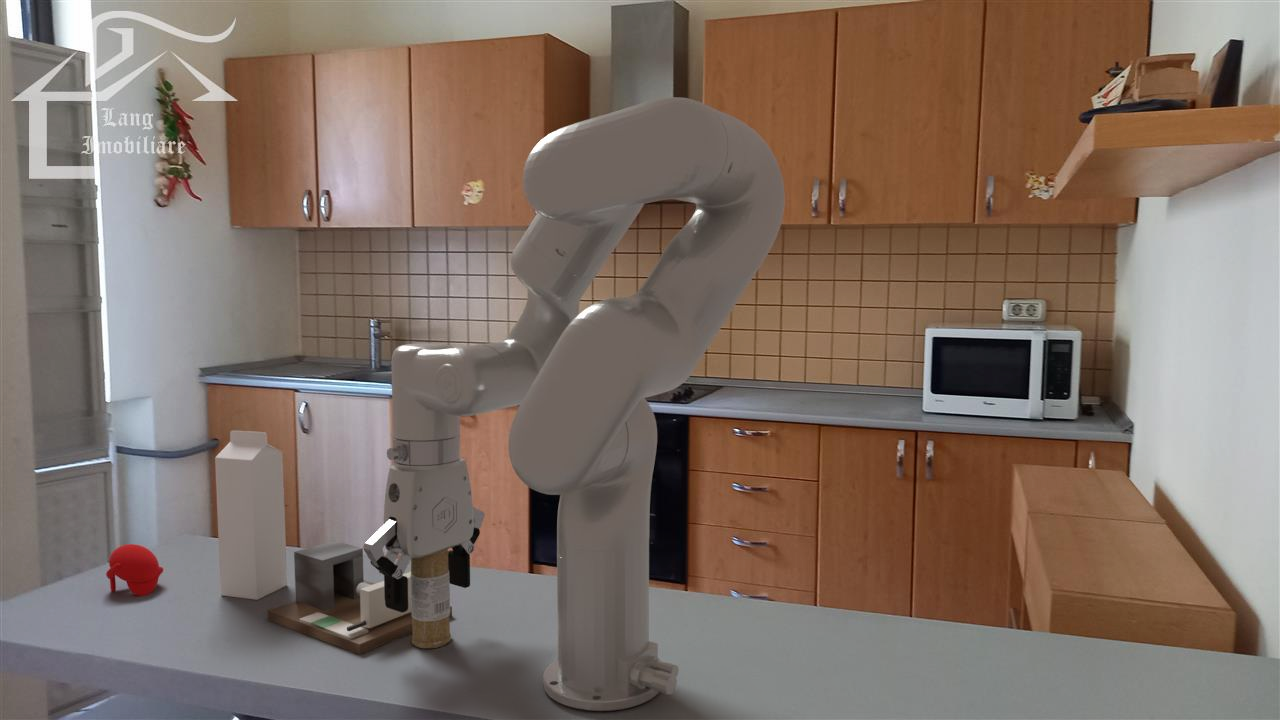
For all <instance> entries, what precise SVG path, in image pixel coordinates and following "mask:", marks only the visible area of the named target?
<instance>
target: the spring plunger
mask: <svg viewBox="0 0 1280 720" xmlns="http://www.w3.org/2000/svg"><path fill="white" fill-rule="evenodd" d="M403 576H405V577H407V578H408V610H407V611H405V612H403V613H402V612H399V611H396V610H393V609H390V608H387V607H386V605H385V594H384V580H382V581H379V582H377V583H375V584H373V585H370V584H367V583H363V582H362V583H360V584H359V585H358V586H357V588H356V593H357V594H358V595H360V610H361V622H359V623H357V624H354V625H351V626H349V627H347V631H351V630H354V629H357V628H359V627H362V626H364V627H367V628H372V627H374V626H377V625H379V624H382V623H384V622H387V621H390V620H392V619H395V618H397V617H400V616H402V615H405V614H407V613H410V612H411V571H408V572H406V573H405V572H404V574H403Z"/></svg>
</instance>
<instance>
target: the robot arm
mask: <svg viewBox="0 0 1280 720" xmlns="http://www.w3.org/2000/svg"><path fill="white" fill-rule="evenodd" d="M784 184H785V183H784V179H783V175H782V171H781V169H780V165H779V163H778V160H777V158H776V156H775V154H774V153H773V151H772V149H771V148H770V146H769V144H767V142H766V141H765V139H764V138H763V137H762V136H761V135H760V134H759V133H758V132H757V131H756V130H755V129H754V128H752V127H751V126H749V124H747V123H746V122H744V121H742V120H740V119H739V118H736V117H735V116H733V115H731V114H728V113H726V112H723V111H720V110H718V109H716V108H714V107H712V106H710V105H708V104H705V103H702V102H701V101H698V100H695V99H691V98H689V97H688V98H687V97H674V96H673V97H672V96H670V97H662V98H657V99H653V100H649V101H646V102H642V103H638V104H635V105H632V106H629V107H625V108H622V109H620V110H616V111H615V110H614V111H612V112H609V113H605V114H602V115H598V116H595V117H592V118H588V119H585V120H581V121H578V122H575V123H573V124H572V123H571V124H569V125H567V126H563V127H560V128H558V129H556V130H554V131H552V132H551V133H550V132H549V133H548V134H547V135H546V136H545V137H543V138H542V139H540V141H539V142H538V143H536V145H535V146H534V147H533V148H532V150H531V151H530V153H529V155H528V156H527V158H526V161H525V164H524V167H523V172H522V187H523V192H524V195H525V197H526V201H527V203H528V204H529V205H530V207H531V208H532V209H533V210H534V211H535V212H537V213H536V215H535V217H534V218H533V219H532V221H531V223H530V224H529V226H528V228H527V229H526V231H525V232H524V234H523V235H522V237H521V239H520V240H519V241H518V243H517V244H516V247H514V249H513V251H512V252H511V256H510V268H511V270H512V272H513V274H514V276H515V277H516V278H517V279H518V281H519V282H520V283H521V284H522V285H523V286H524V287H525V288H526V289H527V300H526V303H525V306H524V308H523V310H522V313H521V314H520V316H519V318H518V320H517V321H516V322H515V324H514V326H513V327H512V329H511V330H510V331H509V333H508V335H507V336H506V337H505V339H504V340H503V341H502V342H501V341H500V342H499V341H498V342H490V343H480V344H474V345H465V346H458V347H454V346H452V345H449V344H446V343H437V342H436V343H434V342H429V343H426V342H425V343H422V342H421V343H407V344H402V345H399V346H397V347H396V348H395V349H394V351H393V353H392V355H391V403H392V406H391V409H392V411H391V412H392V416H391V417H392V447H391V448H388V449H387V451H386V457H387V459H388V460H389V461H392V465H390V466H389V470H388V474H387V480H386V487H385V493H384V495H385V496H384V506H383V525H382V526H381V527H379V529H377V531H376V532H374V533H373V534H372V536H371V537H369V538H368V540H367V541H366V542H364V543H363V547H362V548H363V552H365V554H366V556H367V557H368V559H369V560H370V564H371V565H372V567H374V568H375V569H376V570H377V571H378V573H379V574H380V575H383V581H384V594H385V605H386V607H387V608H390V609H393V610H396V611H399V612H402V613H403V612H405V611H407V610H408V578H407V577H405V576H403V574H405V572H406V569H407V568H408V565H409V564H410V563H411V558H420V557H424V556H427V555H431V554H434V553H437V552H440V551H443V550H446V549H448V569H449V581H450V585H454V586H458V587H460V588H463V589H467V588H469V587H470V586H471V556H470V555H471V554H473V553H474V551H475V545H474V544H475V543H476V541H477V540H478V538H479V536H480V533H481V530H480V529H481V528H482V525H483V522H484V519H485V517H486V515H485V512H484V511H482V510H480V509H479V508H476V507H474V505H473V494H472V485H471V479H470V474H469V469H468V465H467V463H466V459H465V458H462V457H461V435H460V434H461V417H470V416H471V417H472V416H476V415H481V414H486V413H490V412H493V411H496V410H502V409H507V408H508V409H509V408H512V407H516V406H519V407H518V409H517V410H516V413H515V415H514V418H513V419H512V422H511V425H510V429H509V434H508V445H507V446H508V455H509V460H510V463H511V466H512V468H513V471H514V472H515V474H516V476H517V477H518V478H519V480H521V482H522V483H523V484H524V485H526V486H527V487H529V488H530V489H531V490H534V491H535V492H537V493H541V494H545V495H550V496H553V495H554V496H557V495H558V496H559V502H558V507H557V508H558V509H557V516H556V517H557V520H556V521H557V522H556V569H557V570H556V573H557V574H556V575H557V576H556V583H557V584H556V585H557V586H556V587H557V588H556V589H557V590H556V592H557V593H556V594H557V602H556V603H557V607H556V608H557V609H556V610H557V658H556V659H555V660H553V661H551V662H550V664H549V665H547V666H546V667H545V670H544V671H543V674H542V675H543V676H542V682H543V683H542V685H543V686H542V687H543V689H544V691H545V693H546V695H548V697H550V698H551V699H553V700H554V701H556V702H557V703H559V704H560V705H561V704H562V705H563V706H566V707H569V708H574V709H578V710H584V711H591V712H592V711H595V712H610V711H618V710H625V709H629V708H633V707H637V706H639V705H642V704H645V703H647V702H648V701H650V700H652V699H653V698H654V697H656V696H657V695H658V694H659V693H662V694H665V695H669V696H670V695H672V694H673V693H674V691H675V690H676V688H677V677H678V675H679V666H678V665H677V664H675V663H674V664H673V663H670V662H666V661H661V660H660V658H659V656H658V654H659V652H658V651H659V649H658V647H659V644H658V643H657V642H653V641H650V514H651V513H650V509H651V508H650V507H651V505H650V504H651V491H652V481H653V473H654V467H655V461H656V455H657V448H658V447H657V445H658V427H657V420H656V415H655V414H654V411H653V408H652V407H651V405H650V403H649V402H648V401H647V399H645V398H649V397H653V396H657V395H661V394H664V393H667V392H671V391H673V390H675V389H677V388H678V387H680V386H681V385H682V384H684V383H685V382H686V381H688V379H689V378H690V377H691V375H692V374H693V372H694V371H695V369H696V367H697V366H698V364H699V363H700V361H701V359H702V358H703V356H704V355H705V353H706V351H707V350H708V349H709V347H710V345H711V344H712V342H713V341H714V339H715V337H716V336H717V335H718V333H719V331H720V330H721V329H722V327H723V325H724V324H725V322H726V321H727V319H728V318H729V316H730V315H731V313H732V311H733V310H734V308H735V306H736V304H737V303H738V301H739V299H740V298H741V296H743V293H744V291H745V290H746V288H747V287H748V285H749V284H750V282H751V281H752V279H753V278H754V276H755V275H756V274H757V272H758V271H759V269H760V267H761V266H762V264H764V263H763V262H765V260H766V258H767V256H768V255H769V252H770V251H771V249H772V247H773V246H774V243H775V241H776V239H777V237H778V235H779V231H780V229H781V225H782V222H783V217H784V212H785V201H786V194H785V193H786V192H785V185H784ZM664 200H677V201H681V202H682V201H683V202H688V203H692V204H695V211H694V213H693V215H692V217H691V218H690V219H689V220H688V222H687V223H686V224H685V225H684V226H683V227H682V228H681V229H680V230H679V231H678V232H677V233H676V235H675V236H674V237H672V239H671V240H670V242H669V243H668V244H667V246H665V248H664V250H663V252H662V253H661V255H660V257H659V258H658V259H657V263H656V264H655V266H654V267H653V269H652V271H651V272H650V273H649V275H648V277H647V278H646V280H645V281H644V282H643V284H642V285H641V286H640V288H639V289H638V290H637V291H636V292H635V293H634V294H633V295H630V296H622V297H611V298H607V299H603V300H599V301H597V302H594V303H592V304H591V305H588V307H586V308H585V309H584V310H582V311H581V312H580V304H581V300H582V298H583V297H584V294H585V293H586V291H587V290H588V289H589V287H590V285H591V284H592V282H593V281H595V278H596V277H597V275H598V274H599V272H600V271H601V269H602V268H603V266H604V264H605V263H606V262H607V261H608V259H609V257H610V256H611V254H612V253H613V252H614V250H615V248H616V247H617V246H618V244H620V242H621V240H622V239H623V237H624V236H625V234H626V233H627V231H628V229H629V228H630V227H631V225H632V223H634V221H635V219H636V218H637V217H638V215H639V214H640V213H641V210H642V208H644V205H645V204H649V203H655V202H658V201H659V202H660V201H664ZM384 547H385V550H387V551H386V553H385V552H384ZM449 549H451V550H449ZM398 557H399V558H398ZM397 559H398V560H397ZM396 560H397V561H396ZM395 562H396V563H395Z"/></svg>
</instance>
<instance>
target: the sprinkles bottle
mask: <svg viewBox="0 0 1280 720" xmlns="http://www.w3.org/2000/svg"><path fill="white" fill-rule="evenodd" d="M448 551H449V549H446V550H443V551H440V552H437V553H434V554H431V555H427V556H424V557H420V558H411V560H410V572H411V612H412V627H413V632H412V638H411V643H412V644H413V646H414V647H417V648H421V649H435V648H441V647H443V646H445V645H446V644H448V643H449V642H450V641H451V639H452V635H451V631H450V629H451V627H450V625H451V624H450V622H451V621H450V617H449V614H450V606H451V599H450V598H451V596H450V595H451V593H450V592H451V590H450V589H451V587H450V586H451V584H450V581H449V569H448Z"/></svg>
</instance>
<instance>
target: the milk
mask: <svg viewBox="0 0 1280 720" xmlns="http://www.w3.org/2000/svg"><path fill="white" fill-rule="evenodd" d="M214 462H215V463H214V466H215V467H214V468H215V469H214V470H215V484H216V485H215V487H216V489H215V490H216V509H217V510H216V512H217V513H216V515H217V531H218V532H217V534H218V535H217V537H218V556H219V557H218V558H219V578H220V579H219V583H220V595H221V596H225V597H232V598H239V599H247V600H254V601H255V600H256V601H258V600H261V599H262V598H264V597H266V596H268V595H270V594H272V593H274V592H276V591H278V590H281V589H282V588H285V587H287V586H288V573H287V571H288V568H287V567H288V566H287V546H286V545H287V544H286V520H285V519H286V516H285V492H284V491H285V490H284V484H285V483H284V465H283V464H284V461H283V451H281V450H280V449H277V448H276V447H274V446H273V445H271V444H269V443H268V434H267V432H266V431H264V432H262V431H250V430H248V431H246V430H230V432H229V442H228V444H226V446H224V447H223V449H222V450H221V451H220V452H219V453H218V454H217V455H216V456H215V457H214Z"/></svg>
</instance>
